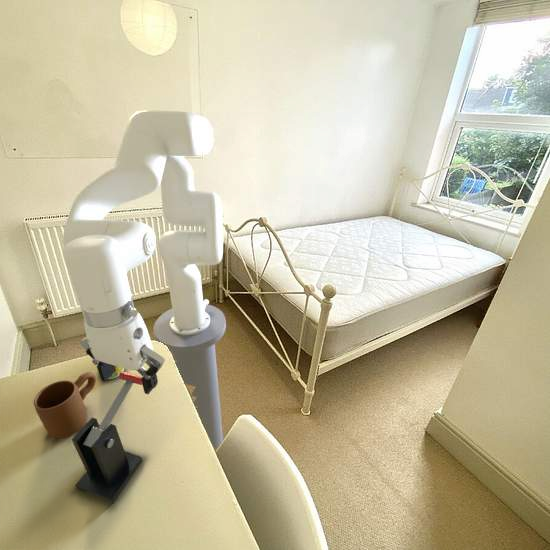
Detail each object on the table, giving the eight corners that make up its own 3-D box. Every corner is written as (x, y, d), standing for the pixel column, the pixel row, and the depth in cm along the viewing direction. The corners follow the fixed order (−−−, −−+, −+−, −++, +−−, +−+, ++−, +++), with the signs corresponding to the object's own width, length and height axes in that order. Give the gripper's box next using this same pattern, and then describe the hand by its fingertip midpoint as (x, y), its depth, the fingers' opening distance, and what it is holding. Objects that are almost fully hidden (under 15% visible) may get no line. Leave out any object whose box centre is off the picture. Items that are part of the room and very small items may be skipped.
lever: (126, 374, 62) (120, 369, 60) (147, 380, 60) (142, 375, 59) (83, 444, 54) (75, 441, 52) (107, 453, 53) (99, 450, 51)
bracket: (109, 448, 63) (93, 406, 57) (142, 460, 61) (129, 418, 55) (76, 489, 56) (54, 447, 50) (113, 504, 54) (94, 462, 48)
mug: (91, 390, 75) (81, 361, 71) (113, 402, 72) (103, 373, 68) (40, 430, 66) (24, 400, 61) (62, 446, 63) (47, 416, 58)
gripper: (168, 306, 52) (180, 378, 60) (85, 289, 56) (107, 358, 64) (138, 334, 46) (156, 410, 54) (48, 311, 50) (77, 385, 58)
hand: (130, 381), depth 59 cm, fingers open, 9 cm apart
